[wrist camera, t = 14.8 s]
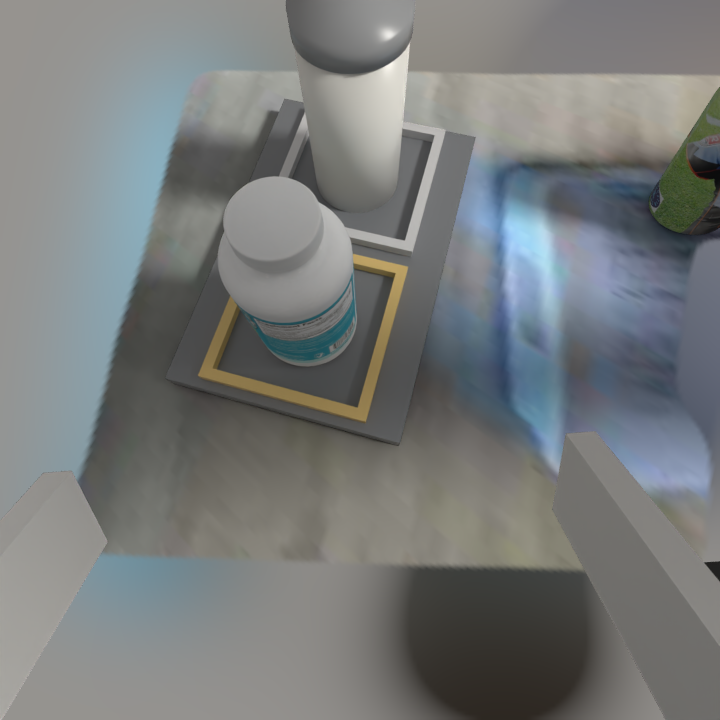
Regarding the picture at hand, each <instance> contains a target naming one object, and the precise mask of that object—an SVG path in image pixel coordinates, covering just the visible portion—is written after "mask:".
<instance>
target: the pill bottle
mask: <svg viewBox="0 0 720 720" xmlns="http://www.w3.org/2000/svg"><path fill="white" fill-rule="evenodd" d="M223 227H224V233H223V235H222V238H221V241H220V245H219V250H218V268H219V273H220V277H221V280H222V282H223V284H224V286H225V288H226V290H227V291H228V293H229V294H230V296H231V297H232V299H233V300H234V301H235V303H236V304H237V306H238V307H239V309H240V310H241V311H242V313H243V314H244V316H245V317H246V318H247V320H248V321H249V323H250V324H251V326H252V327H253V328H254V330H255V331H256V333H257V334H258V335H259V337H260V338H261V340H262V341H263V342H264V344H265V345H266V346H267V348H268V349H269V350H270V351H271V352H272V353H273V354H274V355H275V356H276V357H278V358H279V359H281V360H282V361H284V362H287V363H289V364H292V365H296V366H304V367H309V366H317V365H321V364H324V363H326V362H329V361H331V360H333V359H334V358H336V357H337V356H338V355H340V354H341V353H342V352H343V351H344V350H345V349H346V347H347V346H348V345H349V343H350V342H351V340H352V338H353V336H354V333H355V330H356V324H357V309H356V295H355V280H354V263H353V252H352V245H351V240H350V237H349V235H348V232H347V230H346V228H345V227H344V225H343V223H342V222H341V220H340V219H339V218H338V217H337V216H336V215H335V214H334V213H333V212H332V211H331V210H330V209H329V208H327V207H326V206H324V205H323V204H321V203H319V202H318V200H317V198H316V197H315V195H314V194H313V193H312V191H311V190H310V189H309V188H308V187H306V186H305V185H303V184H302V183H300V182H298V181H296V180H293V179H290V178H286V177H277V176H273V177H265V178H260V179H257V180H254V181H252V182H250V183H248V184H246V185H245V186H243V187H242V188H241V189H239V190H238V191H237V192H236V193H235V194H234V195H233V196H232V198H231V199H230V201H229V202H228V204H227V207H226V209H225V212H224V217H223Z"/></svg>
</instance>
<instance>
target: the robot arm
mask: <svg viewBox="0 0 720 720" xmlns="http://www.w3.org/2000/svg"><path fill="white" fill-rule="evenodd" d="M552 510H553V512H554V514H555V516H556V517H557V519H558V521H559V523H560V525H561V527H562V529H563V530H564V532H565V534H566V536H567V538H568V540H569V542H570V543H571V545H572V547H573V549H574V551H575V553H576V555H577V556H578V558H579V560H580V562H581V564H582V566H583V568H584V569H585V571H586V573H587V575H588V577H589V579H590V580H591V582H592V584H593V586H594V588H595V590H596V591H597V593H598V595H599V597H600V599H601V601H602V602H603V605H604V606H605V608H606V610H607V612H608V614H609V616H610V617H611V619H612V621H613V623H614V625H615V627H616V629H617V631H618V632H619V634H620V636H621V638H622V640H623V642H624V643H625V645H626V647H627V649H628V651H629V653H630V655H631V656H632V658H633V660H634V662H635V664H636V666H637V668H638V669H639V671H640V673H641V675H642V677H643V679H644V681H645V682H646V684H647V686H648V688H649V690H650V692H651V694H652V695H653V697H654V699H655V701H656V703H657V705H658V706H659V708H660V710H661V712H662V714H663V716H664V718H665V719H666V720H720V561H719V562H703V561H702V560H701V558H700V557H699V556H698V555H697V554H696V552H695V551H694V550H693V549H692V548H691V546H690V545H689V544H688V543H687V542H686V540H685V539H684V538H683V537H682V535H681V534H680V533H679V532H678V531H677V529H676V528H675V527H674V526H673V525H672V523H671V522H670V521H669V520H668V519H667V517H666V516H665V515H664V514H663V513H662V511H661V510H660V509H659V508H658V506H657V505H656V504H655V503H654V502H653V500H652V499H651V498H650V497H649V496H648V494H647V493H646V492H645V491H644V490H643V488H642V487H641V486H640V485H639V483H638V482H637V481H636V480H635V479H634V477H633V476H632V475H631V474H630V473H629V471H628V470H627V469H626V468H625V467H624V465H623V464H622V463H621V462H620V461H619V459H618V458H617V457H616V456H615V454H614V453H613V452H612V451H611V450H610V448H609V447H608V446H607V445H606V444H605V442H604V441H603V440H602V439H601V438H600V436H599V435H598V434H597V433H596V431H593V432H580V433H566V436H565V441H564V447H563V452H562V458H561V463H560V469H559V475H558V480H557V486H556V491H555V497H554V502H553V508H552ZM107 542H108V541H107V539H106V537H105V535H104V533H103V531H102V529H101V527H100V525H99V523H98V522H97V520H96V518H95V516H94V514H93V512H92V510H91V508H90V506H89V504H88V502H87V500H86V498H85V496H84V494H83V492H82V490H81V488H80V486H79V484H78V482H77V480H76V478H75V476H74V475H73V473H72V471H61V472H48V473H43V474H42V475H41V476H40V477H39V478H38V479H37V480H36V481H35V483H34V484H33V485H32V486H31V487H30V488H29V489H28V490H27V491H26V493H25V494H24V495H23V496H22V497H21V498H20V499H19V500H18V501H17V502H16V504H15V505H14V506H13V507H12V508H11V509H10V510H9V511H8V513H7V514H6V515H5V516H4V517H3V518H2V519H1V520H0V720H2V719H3V716H4V715H5V714H6V712H7V710H8V708H9V707H10V705H11V704H12V702H13V700H14V698H15V697H16V695H17V693H18V691H19V690H20V688H21V687H22V685H23V683H24V681H25V680H26V678H27V677H28V675H29V673H30V671H31V670H32V668H33V666H34V665H35V663H36V661H37V660H38V658H39V656H40V655H41V653H42V651H43V650H44V648H45V646H46V644H47V643H48V641H49V640H50V638H51V636H52V635H53V633H54V631H55V629H56V628H57V626H58V624H59V623H60V621H61V619H62V617H63V616H64V614H65V612H66V611H67V609H68V608H69V606H70V604H71V603H72V601H73V599H74V598H75V596H76V594H77V592H78V591H79V589H80V587H81V586H82V584H83V582H84V581H85V579H86V577H87V575H88V574H89V572H90V571H91V569H92V567H93V565H94V564H95V562H96V560H97V559H98V557H99V555H100V554H101V552H102V550H103V549H104V547H105V545H106V544H107Z"/></svg>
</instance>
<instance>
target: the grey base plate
mask: <svg viewBox="0 0 720 720" xmlns="http://www.w3.org/2000/svg"><path fill="white" fill-rule="evenodd" d="M475 138H476V137H472V136H467V135H462V134H457V133H452V132H447V131H446V130H444V129H439V128H434V127H429V126H424V125H419V124H414V123H409V122H404V121H403V127H402V139H401V150H400V161H399V172H398V183H397V187H396V190H395V192H394V194H393V195H392V197H391V198H390V199H389V200H388V201H387V202H386V203H385V204H383V205H382V206H380V207H379V208H376V209H374V210H371V211H368V212H362V213H351V212H345V211H342V210H339V209H337V208H335V207H333V206H331V205H330V204H329V203H328V202H327V201H326V200H325V199H324V198H323V197H322V195H321V194H320V192H319V189H318V185H317V180H316V174H315V168H314V162H313V156H312V150H311V144H310V138H309V132H308V126H307V120H306V114H305V108H304V103H303V102H298V101H293V100H288V99H284V101H283V104H282V106H281V108H280V111H279V113H278V115H277V118H276V120H275V122H274V125H273V127H272V129H271V132H270V134H269V136H268V139H267V141H266V143H265V146H264V148H263V150H262V153H261V155H260V157H259V160H258V162H257V164H256V167H255V169H254V171H253V174H252V176H251V178H250V181H249V183H250V182H252V181H254V180H257V179H260V178H265V177H273V176H277V177H286V178H290V179H293V180H296V181H298V182H300V183H302V184H303V185H305V186H306V187H308V188H309V189H310V190H311V191H312V193H313V194H314V195H315V197H316V198H317V200H318V202H319V203H321V204H323V205H324V206H326V207H327V208H329V209H330V210H331V211H332V212H333V213H334V214H335V215H336V216H337V217H338V218H339V219H340V220H341V222H342V223H343V225H344V227H345V228H346V230H347V232H348V235H349V237H350V240H351V245H352V252H353V263H354V280H355V295H356V309H357V324H356V330H355V333H354V336H353V338H352V340H351V342H350V343H349V345H348V346H347V347H346V349H345V350H344V351H343V352H342V353H341V354H340V355H338V356H337V357H336V358H334V359H333V360H331V361H329V362H326V363H324V364H321V365H317V366H309V367H304V366H296V365H292V364H289V363H287V362H284V361H282V360H281V359H279V358H278V357H276V356H275V355H274V354H273V353H272V352H271V351H270V350H269V349H268V348H267V346H266V345H265V344H264V342H263V341H262V340H261V338H260V337H259V335H258V334H257V333H256V331H255V330H254V328H253V327H252V326H251V324H250V323H249V321H248V320H247V318H246V317H245V316H244V314H243V313H242V311H241V310H240V309H239V307H238V306H237V304H236V303H235V301H234V300H233V299H232V297H231V296H230V294H229V293H228V291H227V290H226V288H225V286H224V284H223V282H222V280H221V277H220V273H219V268H218V255H217V258H216V260H215V262H214V265H213V267H212V269H211V272H210V274H209V276H208V279H207V281H206V283H205V286H204V288H203V290H202V293H201V295H200V297H199V300H198V302H197V304H196V307H195V309H194V311H193V314H192V316H191V318H190V320H189V323H188V325H187V327H186V330H185V332H184V334H183V337H182V339H181V341H180V344H179V346H178V348H177V351H176V353H175V355H174V358H173V360H172V362H171V365H170V367H169V369H168V372H167V374H166V376H165V379H167V380H169V381H170V382H172V383H174V384H178V385H181V386H185V387H188V388H192V389H196V390H199V391H203V392H207V393H210V394H214V395H217V396H221V397H225V398H228V399H232V400H235V401H239V402H243V403H246V404H250V405H253V406H257V407H261V408H264V409H268V410H272V411H275V412H279V413H282V414H286V415H290V416H293V417H297V418H300V419H304V420H308V421H311V422H315V423H319V424H322V425H326V426H329V427H333V428H337V429H340V430H344V431H347V432H351V433H355V434H358V435H362V436H365V437H369V438H373V439H376V440H380V441H384V442H387V443H391V444H394V445H398V446H399V444H400V442H401V438H402V433H403V429H404V425H405V421H406V417H407V413H408V409H409V405H410V401H411V397H412V393H413V389H414V385H415V381H416V377H417V373H418V369H419V365H420V360H421V356H422V352H423V348H424V344H425V340H426V336H427V332H428V328H429V324H430V320H431V316H432V312H433V308H434V304H435V300H436V296H437V292H438V288H439V283H440V279H441V275H442V271H443V267H444V263H445V259H446V255H447V251H448V247H449V243H450V239H451V235H452V231H453V227H454V223H455V219H456V215H457V210H458V206H459V202H460V198H461V194H462V190H463V186H464V182H465V178H466V174H467V170H468V166H469V162H470V158H471V154H472V150H473V146H474V142H475Z"/></svg>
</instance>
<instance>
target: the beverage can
mask: <svg viewBox="0 0 720 720" xmlns="http://www.w3.org/2000/svg"><path fill="white" fill-rule="evenodd" d="M649 208H650V211H651V213H652V215H653V217H654V218H655V219H656V220H657V221H658V222H659V223H660V224H661V225H663V226H664V227H666V228H668V229H670V230H672V231H675V232H678V233H682V234H688V235H699V234H705V233H709V232H712V231H715V230H716V229H718V228H720V87H719V88H718V90H717V91H716V92H715V94H714V95H713V97H712V99H711V100H710V102H709V103H708V105H707V106H706V108H705V110H704V111H703V113H702V114H701V116H700V117H699V119H698V121H697V122H696V124H695V125H694V127H693V128H692V130H691V132H690V133H689V135H688V136H687V138H686V139H685V141H684V143H683V144H682V146H681V147H680V149H679V150H678V152H677V154H676V155H675V157H674V158H673V160H672V161H671V163H670V164H669V166H668V168H667V169H666V171H665V172H664V174H663V175H662V177H661V179H660V180H659V182H658V183H657V185H656V186H655V188H654V190H653V191H652V193H651V195H650V197H649Z"/></svg>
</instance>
